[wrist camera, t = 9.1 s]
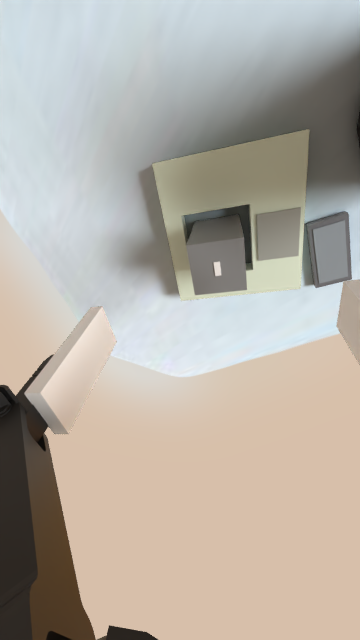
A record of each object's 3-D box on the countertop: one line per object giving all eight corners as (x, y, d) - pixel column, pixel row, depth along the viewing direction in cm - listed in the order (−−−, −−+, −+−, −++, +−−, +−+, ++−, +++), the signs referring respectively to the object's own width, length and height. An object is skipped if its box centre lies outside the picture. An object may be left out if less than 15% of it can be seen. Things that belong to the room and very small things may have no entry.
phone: (306, 223, 26) (308, 226, 26) (345, 211, 25) (348, 213, 25) (313, 284, 30) (316, 288, 29) (348, 276, 29) (352, 279, 28)
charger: (195, 221, 28) (186, 246, 21) (239, 214, 27) (244, 237, 20) (201, 262, 30) (194, 295, 23) (241, 256, 29) (247, 290, 22)
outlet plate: (156, 162, 25) (151, 163, 23) (303, 130, 22) (310, 128, 21) (183, 292, 33) (180, 301, 31) (296, 280, 30) (300, 289, 28)
